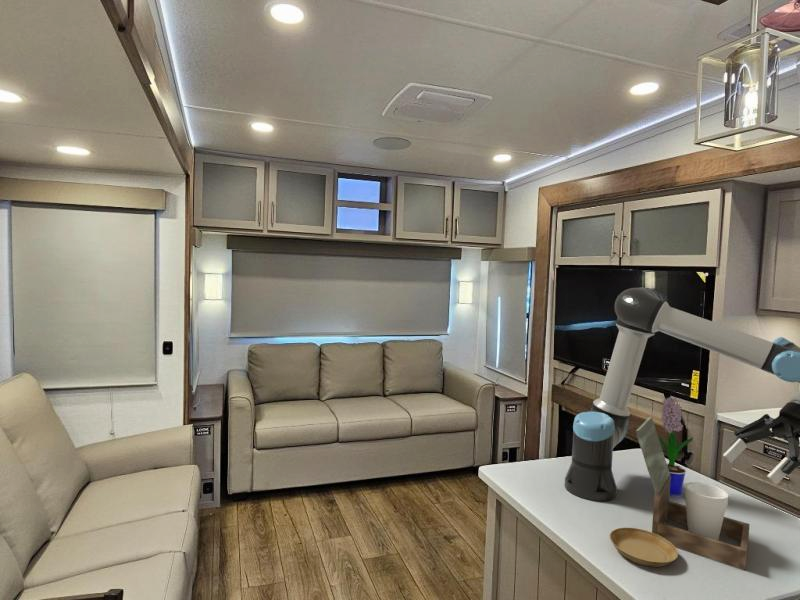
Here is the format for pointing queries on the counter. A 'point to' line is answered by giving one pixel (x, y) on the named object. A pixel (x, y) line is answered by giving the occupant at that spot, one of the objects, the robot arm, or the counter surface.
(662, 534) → the cold frame
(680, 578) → the counter surface
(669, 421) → the hyacinth
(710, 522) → the foam cup
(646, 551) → the plant saucer
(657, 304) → the robot arm
